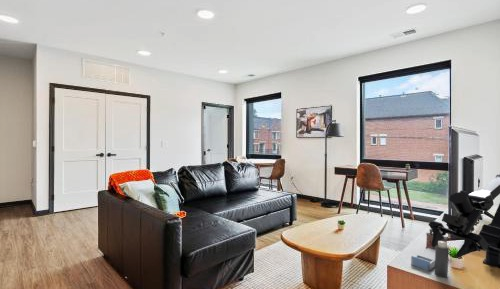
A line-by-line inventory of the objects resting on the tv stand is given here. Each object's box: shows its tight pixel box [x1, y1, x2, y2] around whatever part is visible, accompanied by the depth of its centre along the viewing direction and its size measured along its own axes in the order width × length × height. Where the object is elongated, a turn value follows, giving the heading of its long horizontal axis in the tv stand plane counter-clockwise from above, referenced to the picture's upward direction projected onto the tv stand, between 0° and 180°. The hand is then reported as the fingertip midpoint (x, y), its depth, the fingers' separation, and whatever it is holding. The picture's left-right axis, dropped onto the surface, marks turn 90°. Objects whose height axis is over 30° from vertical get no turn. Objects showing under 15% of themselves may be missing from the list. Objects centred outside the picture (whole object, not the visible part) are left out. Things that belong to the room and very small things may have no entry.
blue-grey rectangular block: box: [410, 248, 435, 272], centre depth 111 cm, size 18×6×4 cm, turn 129°
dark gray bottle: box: [434, 241, 450, 279], centre depth 100 cm, size 4×4×12 cm
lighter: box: [425, 228, 448, 250], centre depth 121 cm, size 8×3×10 cm, turn 40°
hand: (444, 251), depth 100 cm, fingers open, 9 cm apart
